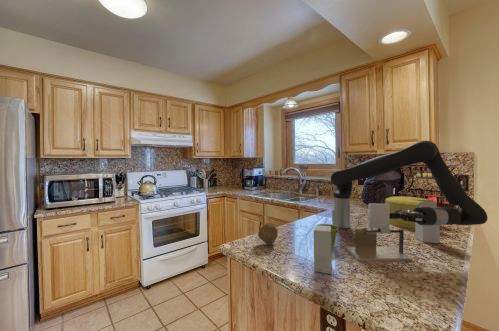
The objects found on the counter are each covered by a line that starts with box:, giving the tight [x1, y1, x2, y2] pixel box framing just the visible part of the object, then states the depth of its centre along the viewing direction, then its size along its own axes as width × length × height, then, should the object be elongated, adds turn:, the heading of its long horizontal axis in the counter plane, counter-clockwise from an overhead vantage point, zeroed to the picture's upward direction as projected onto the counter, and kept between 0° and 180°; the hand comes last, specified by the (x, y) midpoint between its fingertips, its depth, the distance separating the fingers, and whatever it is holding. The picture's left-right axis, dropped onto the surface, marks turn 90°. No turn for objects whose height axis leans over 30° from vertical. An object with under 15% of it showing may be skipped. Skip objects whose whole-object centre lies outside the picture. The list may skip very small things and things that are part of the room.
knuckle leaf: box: [367, 203, 391, 234], centre depth 94 cm, size 8×3×12 cm, turn 90°
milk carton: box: [414, 201, 441, 244], centre depth 111 cm, size 7×7×19 cm
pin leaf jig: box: [345, 228, 414, 262], centre depth 94 cm, size 21×12×11 cm, turn 90°
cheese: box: [385, 195, 435, 229], centre depth 142 cm, size 26×26×15 cm
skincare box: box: [313, 224, 333, 275], centre depth 83 cm, size 8×6×15 cm
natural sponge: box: [257, 222, 279, 246], centre depth 105 cm, size 9×9×10 cm
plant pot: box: [318, 223, 340, 248], centre depth 104 cm, size 9×9×9 cm
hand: (388, 215), depth 94 cm, fingers closed
